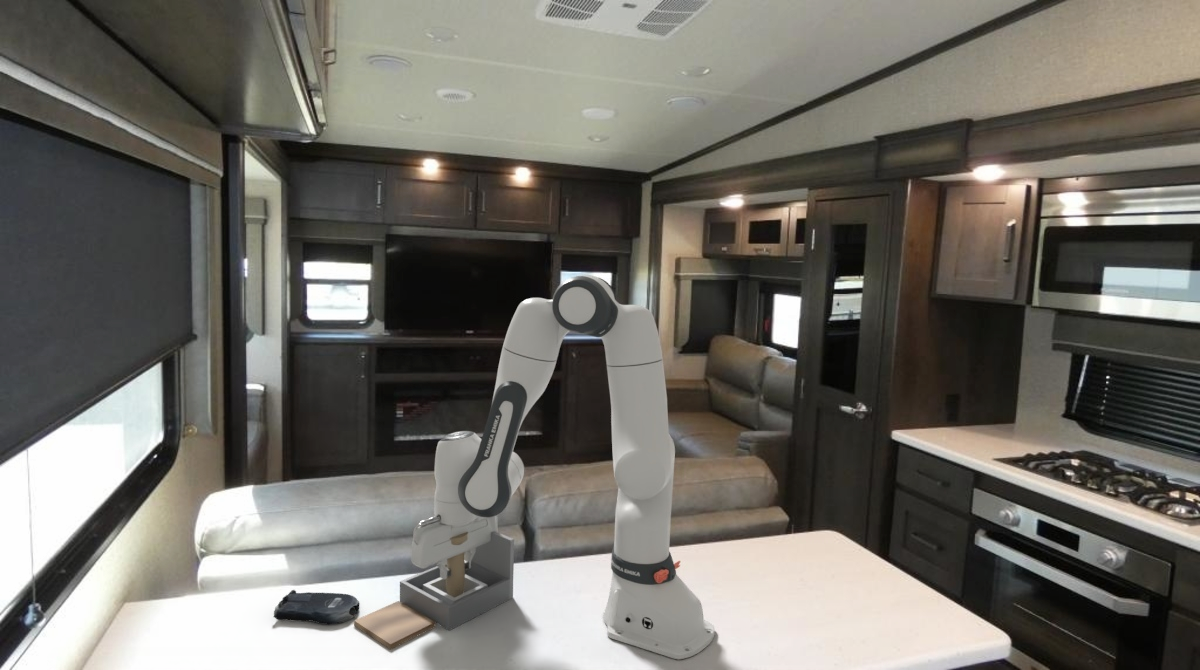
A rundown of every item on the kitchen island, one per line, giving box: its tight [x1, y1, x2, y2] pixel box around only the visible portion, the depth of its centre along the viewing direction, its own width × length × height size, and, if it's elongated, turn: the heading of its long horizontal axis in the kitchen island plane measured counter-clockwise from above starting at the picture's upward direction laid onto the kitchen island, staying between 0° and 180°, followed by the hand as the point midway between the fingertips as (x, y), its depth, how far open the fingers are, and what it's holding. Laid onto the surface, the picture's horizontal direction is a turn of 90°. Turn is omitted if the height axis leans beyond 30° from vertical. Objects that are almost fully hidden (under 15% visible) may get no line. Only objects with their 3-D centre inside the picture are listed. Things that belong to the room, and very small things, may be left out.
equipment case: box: [399, 531, 515, 631], centre depth 138 cm, size 16×17×13 cm
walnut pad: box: [353, 600, 436, 650], centre depth 128 cm, size 12×10×1 cm
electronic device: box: [273, 589, 360, 626], centre depth 132 cm, size 9×6×15 cm
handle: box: [446, 532, 468, 598], centre depth 138 cm, size 5×6×15 cm
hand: (455, 573), depth 138 cm, fingers closed on handle, 4 cm apart
